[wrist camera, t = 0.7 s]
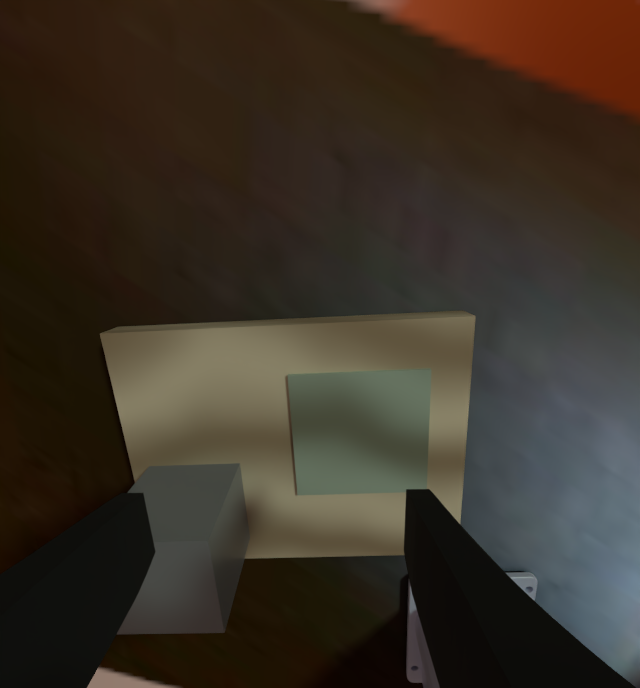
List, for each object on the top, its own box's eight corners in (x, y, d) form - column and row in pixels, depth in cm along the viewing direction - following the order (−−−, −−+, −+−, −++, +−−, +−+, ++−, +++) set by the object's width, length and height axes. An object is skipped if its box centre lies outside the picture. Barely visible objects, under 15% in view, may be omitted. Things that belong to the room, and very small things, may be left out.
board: (448, 532, 21) (490, 628, 16) (165, 539, 21) (111, 634, 16) (463, 310, 17) (523, 337, 12) (118, 327, 18) (28, 359, 12)
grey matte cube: (250, 537, 19) (224, 633, 15) (165, 540, 20) (112, 634, 15) (240, 463, 18) (208, 540, 13) (149, 466, 18) (85, 543, 13)
